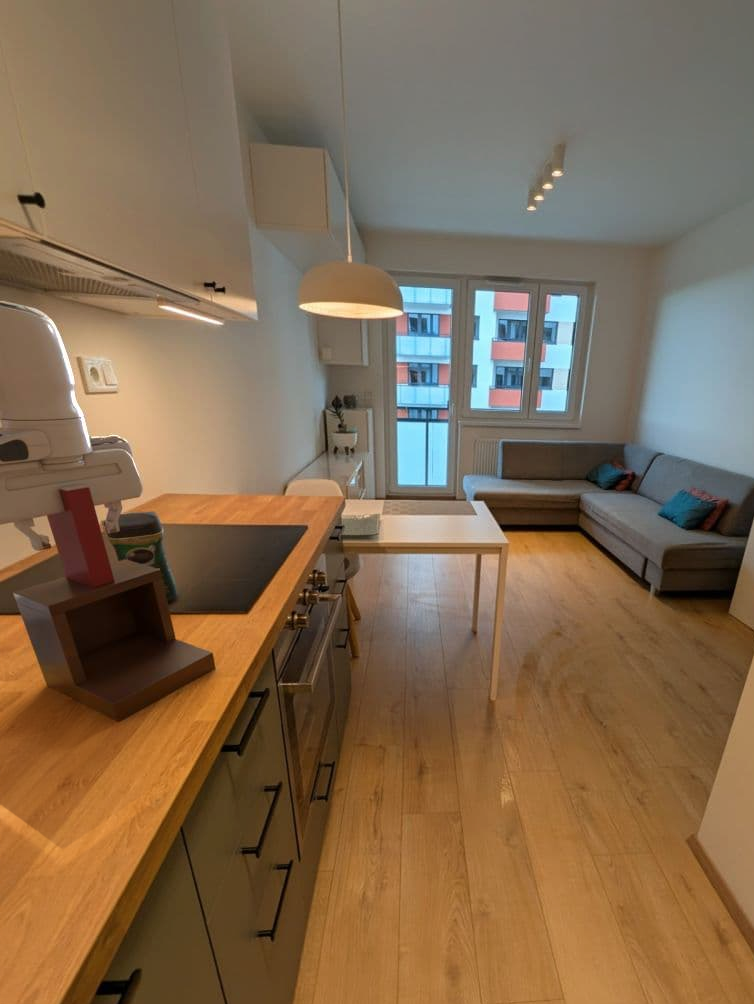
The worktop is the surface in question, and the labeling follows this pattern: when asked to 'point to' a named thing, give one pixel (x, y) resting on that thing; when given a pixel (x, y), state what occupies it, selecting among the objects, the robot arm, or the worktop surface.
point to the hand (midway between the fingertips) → (79, 540)
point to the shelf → (110, 640)
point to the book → (80, 538)
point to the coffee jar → (144, 545)
